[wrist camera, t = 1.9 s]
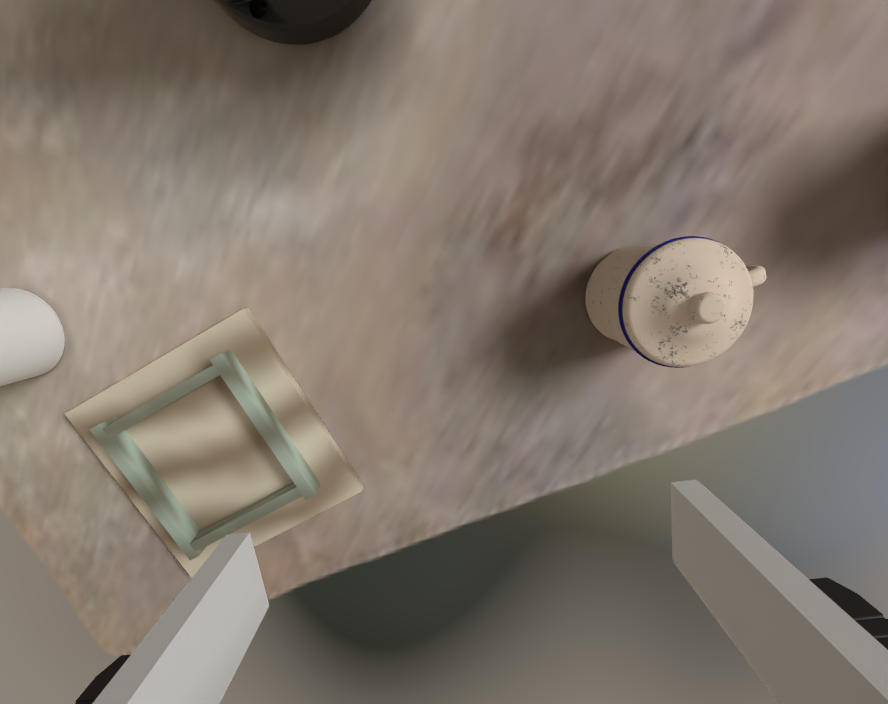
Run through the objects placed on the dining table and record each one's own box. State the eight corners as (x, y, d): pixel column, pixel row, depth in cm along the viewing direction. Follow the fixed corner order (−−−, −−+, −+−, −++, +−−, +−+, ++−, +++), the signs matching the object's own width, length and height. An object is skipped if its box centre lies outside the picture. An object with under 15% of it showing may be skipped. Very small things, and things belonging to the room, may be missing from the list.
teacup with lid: (593, 357, 39) (653, 395, 28) (570, 259, 37) (625, 258, 26) (724, 320, 38) (842, 344, 27) (707, 218, 37) (826, 199, 25)
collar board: (73, 410, 40) (44, 421, 37) (248, 307, 38) (231, 311, 35) (197, 571, 44) (180, 593, 41) (363, 486, 42) (357, 502, 39)
